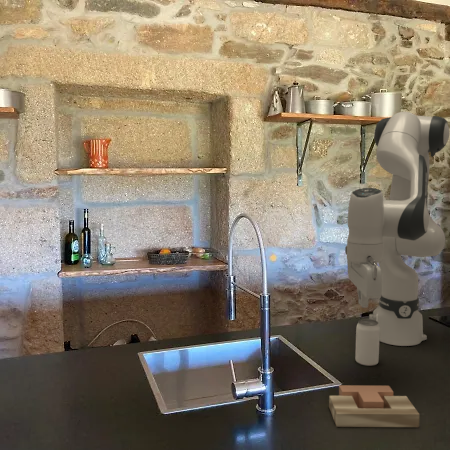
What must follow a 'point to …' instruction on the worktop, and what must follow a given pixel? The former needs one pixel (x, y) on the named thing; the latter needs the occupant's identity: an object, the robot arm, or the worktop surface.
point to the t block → (366, 395)
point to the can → (367, 342)
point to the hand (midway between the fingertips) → (363, 305)
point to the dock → (374, 413)
